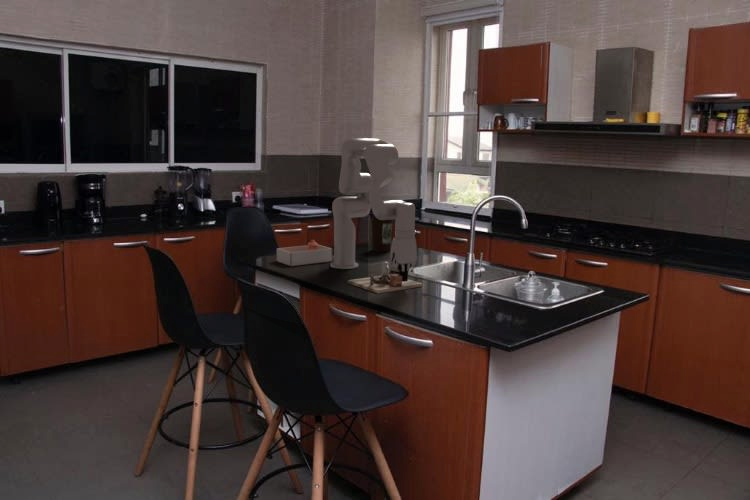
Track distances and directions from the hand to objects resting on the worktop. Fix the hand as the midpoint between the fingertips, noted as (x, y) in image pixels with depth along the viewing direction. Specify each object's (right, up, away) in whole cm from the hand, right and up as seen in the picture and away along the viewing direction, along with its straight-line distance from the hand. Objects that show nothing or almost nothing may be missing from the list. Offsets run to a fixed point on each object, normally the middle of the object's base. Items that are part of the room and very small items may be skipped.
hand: (403, 280), depth 259 cm
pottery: (-45, +6, +48) cm, 66 cm away
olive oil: (-8, +12, +81) cm, 82 cm away
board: (-7, -2, +5) cm, 9 cm away
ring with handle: (-6, -1, +3) cm, 6 cm away
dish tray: (-44, +7, +49) cm, 66 cm away
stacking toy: (0, +3, +33) cm, 33 cm away
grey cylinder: (-10, -1, +3) cm, 10 cm away
